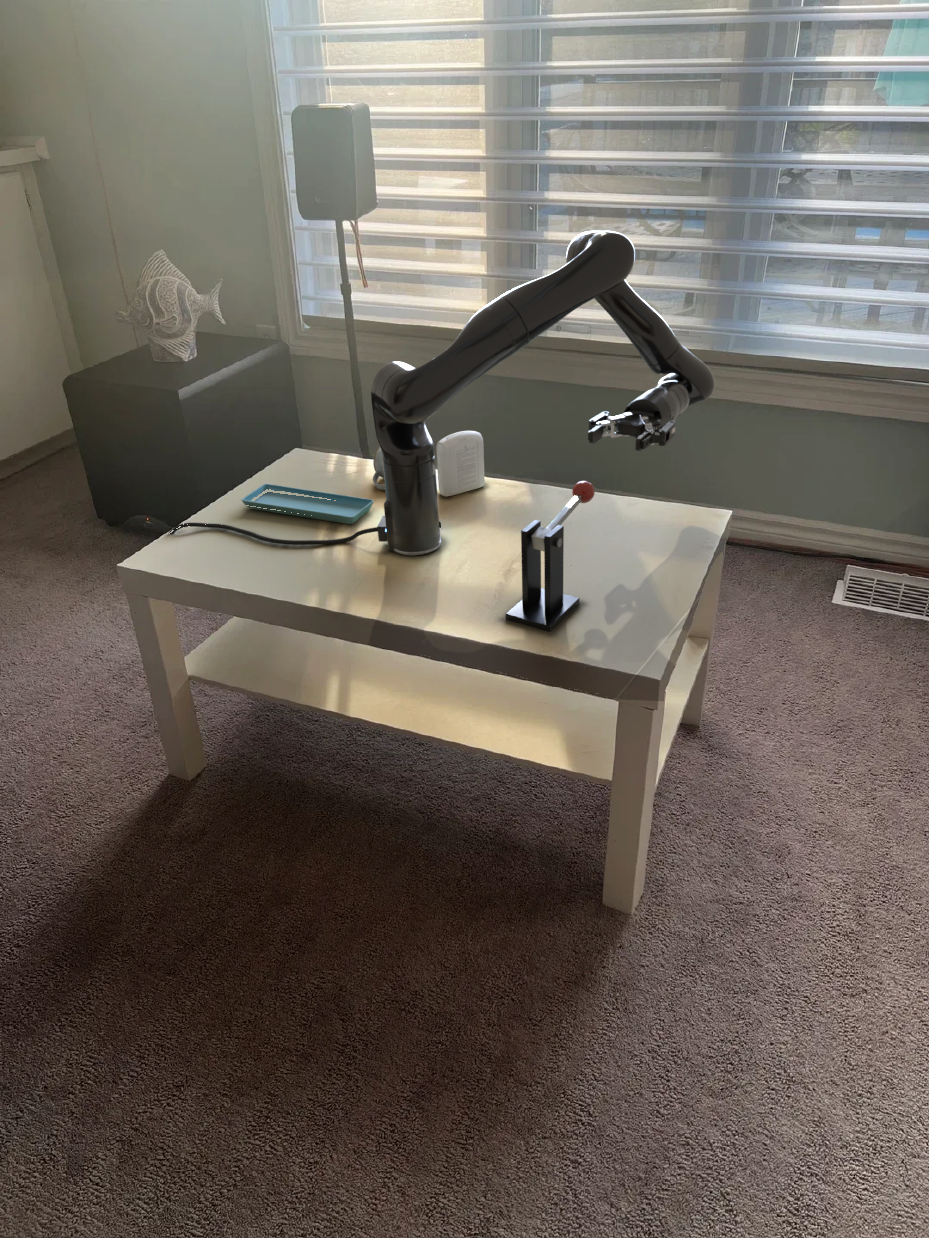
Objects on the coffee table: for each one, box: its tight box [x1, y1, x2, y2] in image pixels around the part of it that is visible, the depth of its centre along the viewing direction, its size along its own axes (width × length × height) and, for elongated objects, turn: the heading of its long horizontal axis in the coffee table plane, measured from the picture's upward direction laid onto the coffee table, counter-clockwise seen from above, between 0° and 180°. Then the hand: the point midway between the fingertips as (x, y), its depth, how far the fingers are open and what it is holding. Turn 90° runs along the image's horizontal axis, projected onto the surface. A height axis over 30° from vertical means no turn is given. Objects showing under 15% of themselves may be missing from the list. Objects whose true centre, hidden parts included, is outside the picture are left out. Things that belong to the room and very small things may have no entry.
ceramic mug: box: [372, 446, 386, 491], centre depth 195 cm, size 11×8×8 cm
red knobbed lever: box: [531, 480, 596, 552], centre depth 144 cm, size 17×4×4 cm, turn 147°
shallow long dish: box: [240, 483, 375, 525], centre depth 185 cm, size 26×9×2 cm, turn 67°
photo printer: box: [435, 430, 486, 497], centre depth 188 cm, size 10×4×12 cm, turn 123°
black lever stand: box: [505, 519, 580, 633], centre depth 143 cm, size 10×8×15 cm
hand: (614, 441), depth 154 cm, fingers open, 8 cm apart
